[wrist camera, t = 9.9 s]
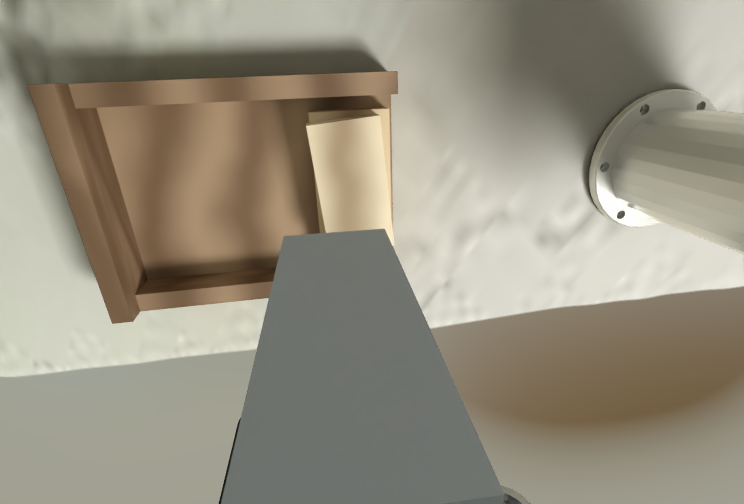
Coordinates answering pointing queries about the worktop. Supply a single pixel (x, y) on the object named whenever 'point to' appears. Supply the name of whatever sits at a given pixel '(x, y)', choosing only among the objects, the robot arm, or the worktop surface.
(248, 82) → the brown wooden tray
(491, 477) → the blue-grey rectangular block
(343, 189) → the offcut stack
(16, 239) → the worktop surface
